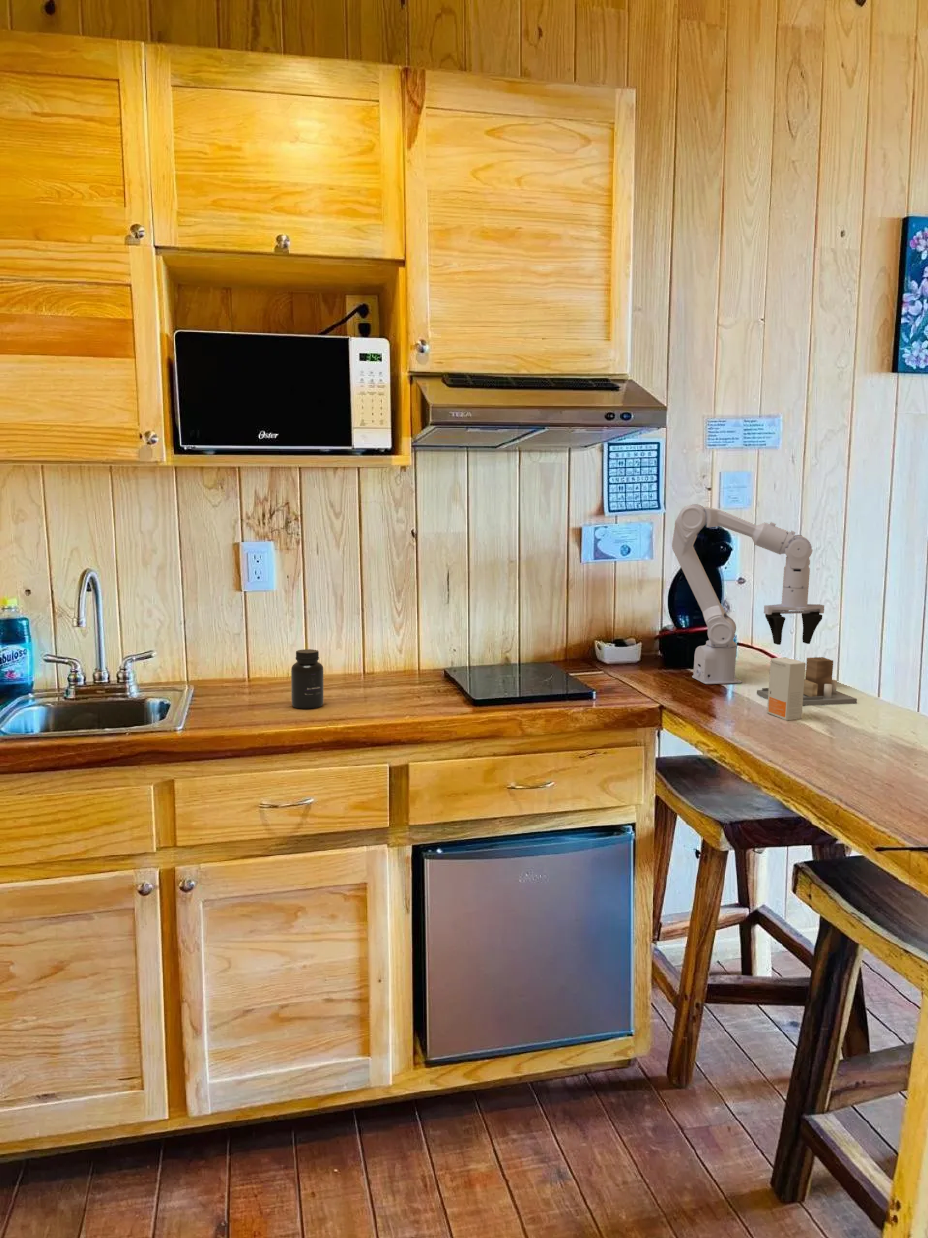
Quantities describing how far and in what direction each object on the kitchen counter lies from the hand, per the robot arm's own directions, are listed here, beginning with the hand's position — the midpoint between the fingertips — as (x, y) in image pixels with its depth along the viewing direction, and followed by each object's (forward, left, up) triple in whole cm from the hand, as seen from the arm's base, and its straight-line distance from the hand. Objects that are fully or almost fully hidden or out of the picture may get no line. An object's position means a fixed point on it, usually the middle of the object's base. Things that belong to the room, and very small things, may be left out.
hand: (791, 643), depth 206 cm
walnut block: (0, -12, -9) cm, 15 cm away
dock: (-3, -12, -10) cm, 16 cm away
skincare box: (-16, -25, -11) cm, 32 cm away
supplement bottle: (-114, -1, -11) cm, 114 cm away
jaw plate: (-4, -12, -9) cm, 15 cm away
